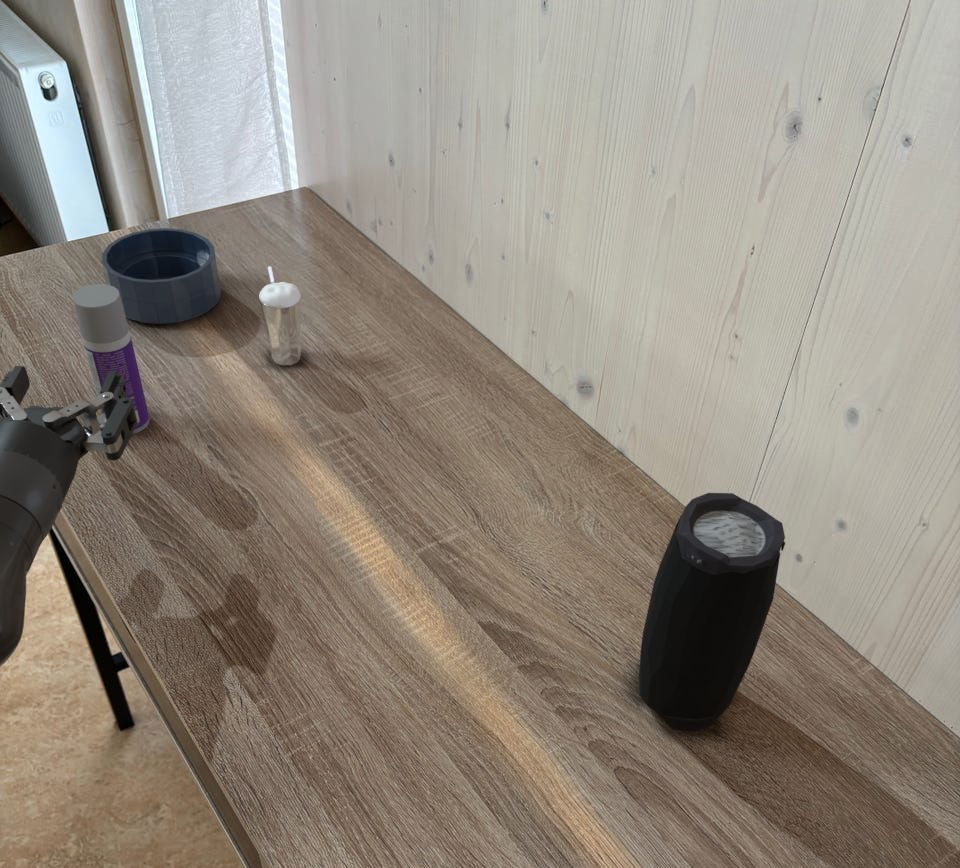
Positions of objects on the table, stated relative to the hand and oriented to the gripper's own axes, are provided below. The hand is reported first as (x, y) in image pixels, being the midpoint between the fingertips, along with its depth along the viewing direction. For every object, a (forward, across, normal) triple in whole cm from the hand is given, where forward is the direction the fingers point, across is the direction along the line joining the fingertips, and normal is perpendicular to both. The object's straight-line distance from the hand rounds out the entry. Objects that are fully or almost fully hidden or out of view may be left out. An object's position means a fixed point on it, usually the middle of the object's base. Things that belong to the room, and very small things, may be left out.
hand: (70, 376), depth 96 cm
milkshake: (+25, -15, +13) cm, 32 cm away
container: (+11, 0, +13) cm, 17 cm away
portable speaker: (-24, -56, +13) cm, 63 cm away
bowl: (+36, +1, +13) cm, 39 cm away
